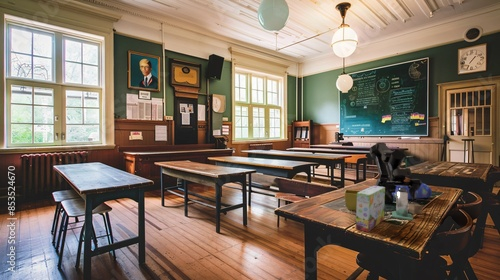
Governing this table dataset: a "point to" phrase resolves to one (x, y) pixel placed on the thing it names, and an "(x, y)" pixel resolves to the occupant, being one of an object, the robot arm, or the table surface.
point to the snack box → (370, 208)
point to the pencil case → (417, 191)
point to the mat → (402, 216)
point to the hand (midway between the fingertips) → (402, 199)
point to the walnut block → (415, 208)
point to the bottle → (402, 202)
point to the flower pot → (351, 199)
